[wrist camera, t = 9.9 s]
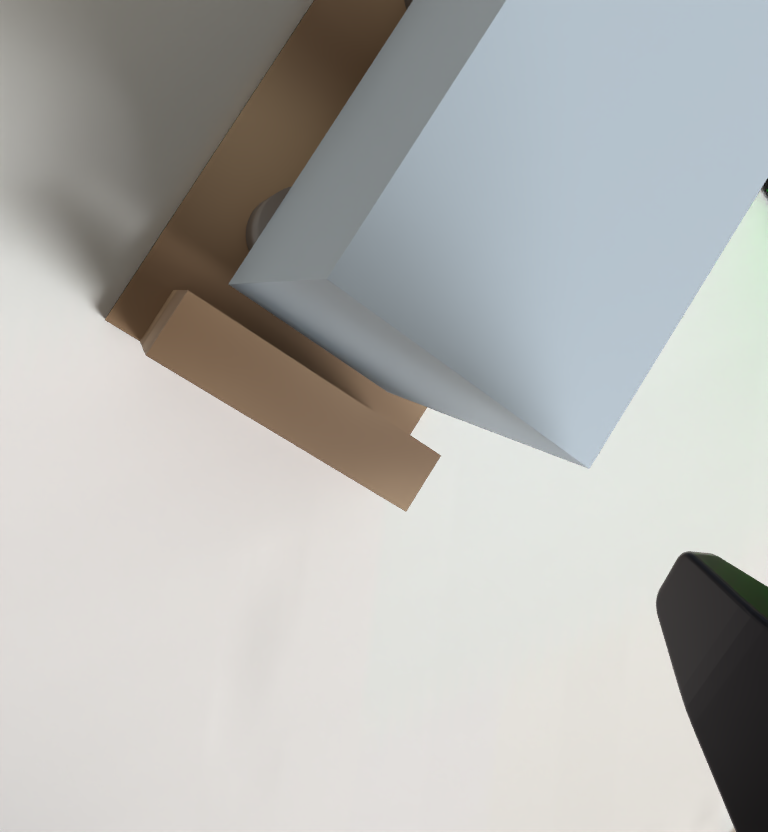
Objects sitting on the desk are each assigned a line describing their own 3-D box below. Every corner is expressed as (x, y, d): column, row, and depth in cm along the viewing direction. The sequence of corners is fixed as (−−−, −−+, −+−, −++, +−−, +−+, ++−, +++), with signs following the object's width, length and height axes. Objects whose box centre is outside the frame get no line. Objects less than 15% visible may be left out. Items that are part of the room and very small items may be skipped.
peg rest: (373, 482, 22) (437, 530, 18) (104, 319, 19) (100, 328, 15) (657, 29, 23) (785, -33, 19) (447, -204, 20) (542, -346, 15)
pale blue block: (387, 392, 19) (588, 468, 11) (228, 284, 18) (326, 278, 9) (619, 25, 20) (976, -163, 12) (489, -117, 18) (802, -461, 10)
